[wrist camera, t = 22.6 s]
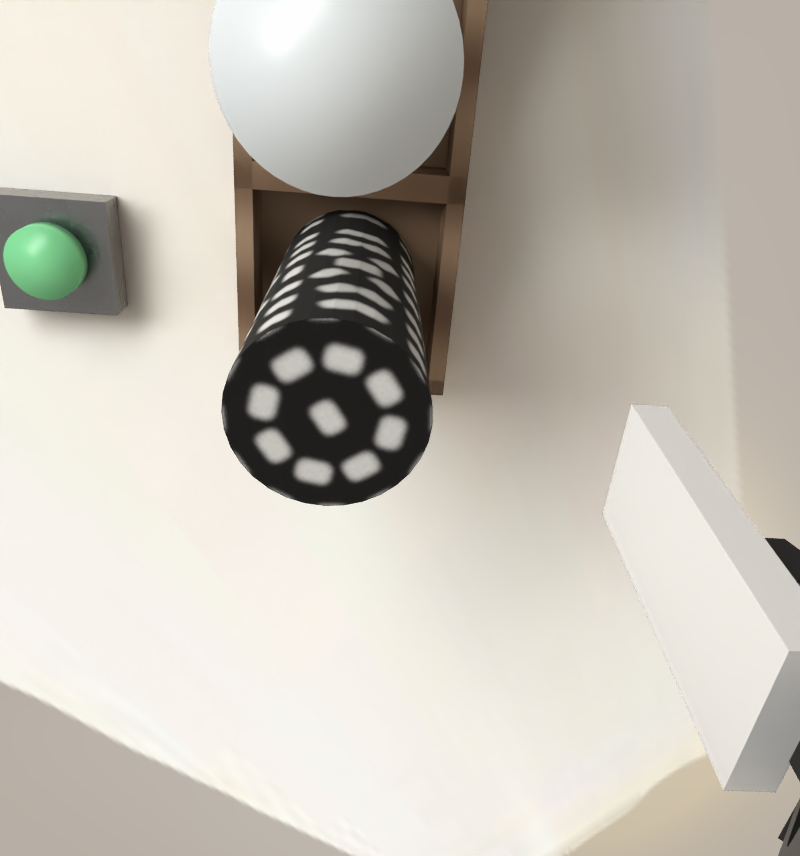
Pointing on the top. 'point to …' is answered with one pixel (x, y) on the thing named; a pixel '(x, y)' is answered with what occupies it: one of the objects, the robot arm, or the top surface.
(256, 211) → the divided wooden tray
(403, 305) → the spotted tube
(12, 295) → the button housing
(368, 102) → the seated billet
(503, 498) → the top surface
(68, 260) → the button
